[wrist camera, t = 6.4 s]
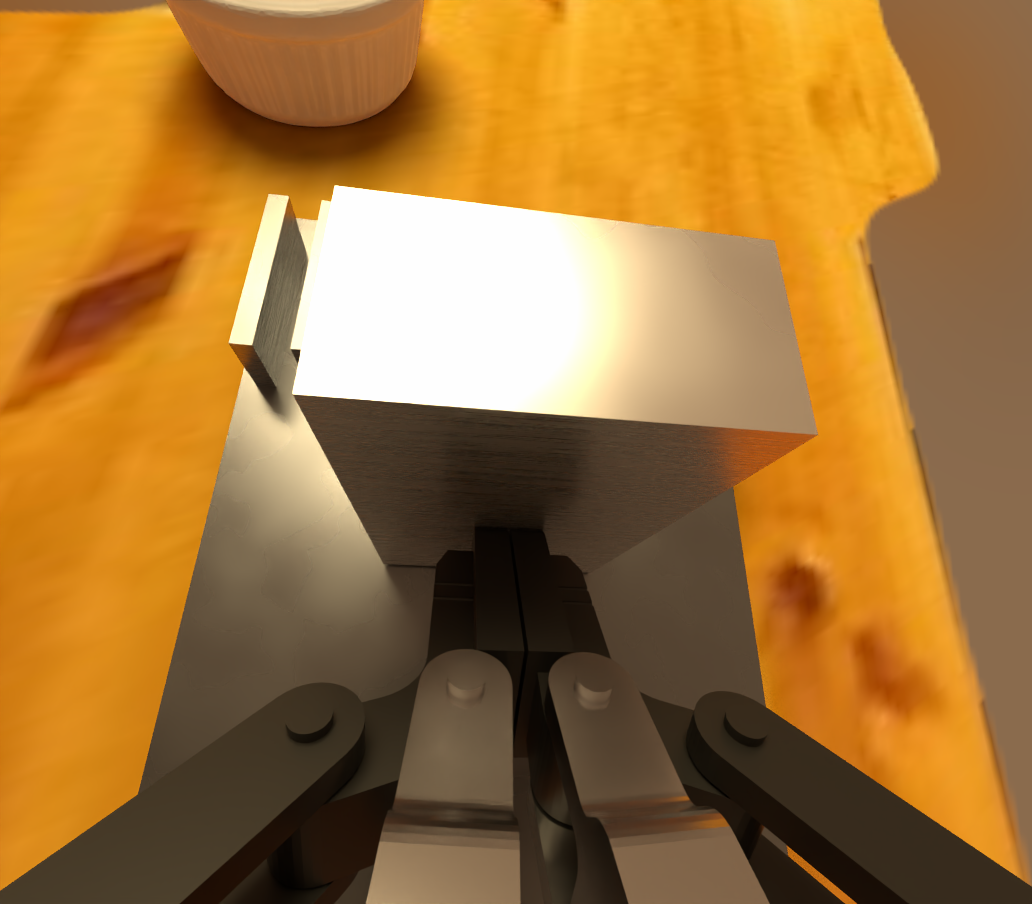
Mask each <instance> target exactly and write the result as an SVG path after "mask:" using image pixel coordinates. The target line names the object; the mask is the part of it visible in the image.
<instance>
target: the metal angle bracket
mask: <svg viewBox="0 0 1032 904" xmlns="http://www.w3.org/2000/svg"><path fill="white" fill-rule="evenodd" d="M293 396H294V398H295V400H296V402H297V404H298V405H299V407H300V409H301V411H302V413H303V415H304V417H305V418H306V420H307V422H308V424H309V426H310V428H311V430H312V432H313V433H314V435H315V437H316V439H317V441H318V443H319V445H320V446H321V448H322V450H323V452H324V454H325V456H326V458H327V460H328V461H329V463H330V465H331V467H332V469H333V471H334V473H335V474H336V476H337V478H338V480H339V482H340V484H341V486H342V488H343V489H344V491H345V493H346V495H347V497H348V499H349V501H350V502H351V504H352V506H353V508H354V510H355V512H356V514H357V516H358V517H359V519H360V521H361V523H362V525H363V527H364V529H365V530H366V532H367V534H368V536H369V538H370V540H371V542H372V544H373V545H374V547H375V549H376V551H377V553H378V555H379V557H380V559H381V560H382V562H383V564H393V565H418V566H436V564H437V563H438V561H439V560H440V559H441V558H442V556H443V555H444V554H445V553H446V552H447V550H460V551H471V549H472V538H473V530H474V528H491V529H508V532H509V531H510V529H512V530H530V531H544V533H545V536H546V540H547V544H548V548H549V552H550V555H565V556H568V557H569V558H570V559H571V560H572V561H573V562H574V563H575V564H576V565H577V566H578V567H579V568H580V569H581V570H582V572H589V573H592V572H593V571H595V570H597V569H598V568H600V567H602V566H603V565H605V564H606V563H608V562H610V561H611V560H613V559H615V558H616V557H618V556H620V555H621V554H623V553H625V552H626V551H628V550H629V549H631V548H633V547H634V546H636V545H638V544H639V543H641V542H643V541H644V540H646V539H648V538H649V537H651V536H652V535H654V534H656V533H657V532H659V531H661V530H662V529H664V528H666V527H667V526H669V525H671V524H672V523H674V522H675V521H677V520H679V519H680V518H682V517H684V516H685V515H687V514H689V513H690V512H692V511H694V510H695V509H697V508H698V507H700V506H702V505H703V504H705V503H707V502H708V501H710V500H712V499H713V498H715V497H717V496H718V495H720V494H722V493H723V492H725V491H726V490H728V489H730V488H731V487H733V486H735V485H736V484H738V483H740V482H741V481H743V480H745V479H746V478H748V477H749V476H751V475H753V474H754V473H756V472H758V471H759V470H761V469H763V468H764V467H766V466H768V465H769V464H771V463H772V462H774V461H776V460H777V459H779V458H781V457H782V456H784V455H786V454H787V453H789V452H791V451H792V450H794V449H795V448H797V447H799V446H800V445H802V444H804V443H805V442H807V441H809V440H810V439H812V438H814V437H815V436H817V435H818V433H817V429H816V424H815V420H814V415H813V411H812V406H811V402H810V397H809V393H808V388H807V384H806V379H805V375H804V370H803V366H802V361H801V357H800V352H799V348H798V344H797V339H796V335H795V330H794V326H793V321H792V317H791V312H790V308H789V303H788V299H787V294H786V290H785V285H784V281H783V276H782V272H781V267H780V263H779V258H778V254H777V250H776V245H775V241H773V240H765V239H757V238H749V237H741V236H733V235H725V234H717V233H709V232H701V231H693V230H685V229H677V228H669V227H661V226H653V225H645V224H637V223H629V222H621V221H613V220H605V219H597V218H589V217H581V216H573V215H565V214H557V213H549V212H541V211H533V210H525V209H517V208H509V207H501V206H493V205H485V204H477V203H469V202H461V201H453V200H445V199H437V198H429V197H421V196H413V195H405V194H397V193H389V192H381V191H373V190H365V189H357V188H349V187H341V186H335V188H334V193H333V198H332V203H331V208H330V212H329V217H328V222H327V227H326V232H325V237H324V242H323V247H322V252H321V256H320V261H319V266H318V271H317V276H316V281H315V286H314V291H313V296H312V301H311V305H310V310H309V315H308V320H307V325H306V330H305V335H304V340H303V345H302V349H301V354H300V359H299V364H298V369H297V374H296V379H295V384H294V389H293Z"/></svg>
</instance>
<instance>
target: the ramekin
mask: <svg viewBox="0 0 1032 904" xmlns="http://www.w3.org/2000/svg"><path fill="white" fill-rule="evenodd" d="M166 2H167V4H168V6H169V8H170V9H171V11H172V13H173V15H174V17H175V19H176V20H177V22H178V24H179V26H180V28H181V29H182V31H183V33H184V35H185V36H186V38H187V40H188V42H189V43H190V45H191V47H192V48H193V50H194V52H195V54H196V55H197V57H198V59H199V60H200V62H201V64H202V65H203V67H204V69H205V70H206V71H207V73H208V74H209V75H210V77H211V78H212V79H213V81H214V82H215V83H216V84H217V85H218V86H219V87H220V88H221V89H222V90H223V91H224V92H225V93H226V94H227V95H229V96H230V97H231V98H233V99H234V100H235V101H236V102H238V103H239V104H241V105H242V106H244V107H245V108H247V109H249V110H250V111H252V112H254V113H256V114H258V115H261V116H263V117H265V118H268V119H271V120H274V121H277V122H281V123H286V124H291V125H299V126H308V127H330V126H340V125H346V124H351V123H355V122H358V121H361V120H364V119H367V118H369V117H371V116H374V115H376V114H377V113H379V112H381V111H382V110H384V109H385V108H387V107H388V106H389V105H390V104H391V103H393V102H394V101H395V100H396V98H397V97H398V96H399V95H400V94H401V92H402V91H403V90H404V89H405V88H406V87H407V85H408V83H409V81H410V80H411V78H412V75H413V71H414V69H415V66H416V60H417V53H418V45H419V37H420V29H421V21H422V13H423V4H424V0H166Z"/></svg>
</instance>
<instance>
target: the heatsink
mask: <svg viewBox="0 0 1032 904" xmlns="http://www.w3.org/2000/svg"><path fill="white" fill-rule="evenodd" d="M331 203H332V201H324V200H322V203H321V207H320V212H319V217H318V221H316V220H308V219H299V218H296V217H295V214H294V211H293V208H292V204H291V201H290V198H289V196H282V195H274V194H269V195H268V199H267V202H266V206H265V210H264V214H263V217H262V221H261V225H260V228H259V232H258V236H257V240H256V243H255V247H254V251H253V255H252V258H251V262H250V266H249V269H248V273H247V277H246V281H245V284H244V288H243V292H242V296H241V299H240V303H239V307H238V310H237V314H236V318H235V322H234V325H233V329H232V333H231V337H230V340H229V344H230V346H231V347H232V349H233V351H234V352H235V354H236V355H237V357H238V358H239V360H240V361H241V363H242V364H243V366H244V371H243V375H242V380H241V384H240V388H239V392H238V396H237V400H236V404H235V408H234V412H233V416H232V420H231V424H230V428H229V432H228V436H227V440H226V444H225V448H224V452H223V456H222V460H221V464H220V468H219V472H218V476H217V480H216V484H215V488H214V492H213V496H212V500H211V504H210V508H209V512H208V516H207V520H206V524H205V528H204V532H203V536H202V540H201V544H200V548H199V552H198V556H197V560H196V564H195V568H194V572H193V576H192V580H191V584H190V588H189V592H188V596H187V600H186V604H185V608H184V612H183V616H182V620H181V624H180V628H179V632H178V636H177V640H176V644H175V648H174V652H173V656H172V660H171V664H170V668H169V672H168V676H167V680H166V684H165V688H164V692H163V696H162V700H161V704H160V708H159V712H158V716H157V720H156V724H155V728H154V732H153V736H152V740H151V744H150V748H149V752H148V756H147V760H146V764H145V768H144V772H143V776H142V780H141V784H140V788H139V792H138V794H140V793H141V792H142V791H144V790H145V789H147V788H148V787H150V786H151V785H152V784H154V783H155V782H157V781H158V780H160V779H161V778H162V777H164V776H165V775H167V774H168V773H170V772H171V771H172V770H174V769H175V768H177V767H178V766H180V765H181V764H182V763H184V762H185V761H187V760H188V759H190V758H191V757H192V756H194V755H195V754H197V753H198V752H200V751H201V750H202V749H204V748H205V747H207V746H208V745H210V744H211V743H212V742H214V741H215V740H217V739H218V738H220V737H221V736H222V735H224V734H225V733H227V732H228V731H230V730H231V729H232V728H234V727H235V726H237V725H238V724H240V723H241V722H242V721H244V720H245V719H247V718H248V717H250V716H251V715H253V714H254V713H255V712H257V711H258V710H260V709H261V708H263V707H264V706H265V705H267V704H268V703H270V702H271V701H273V700H274V699H275V698H277V697H278V696H280V695H282V694H283V693H285V692H287V691H289V690H291V689H293V688H296V687H299V686H302V685H305V684H310V683H320V682H325V683H334V684H338V685H341V686H344V687H346V688H348V689H349V690H351V691H352V692H354V693H355V694H356V695H357V696H358V698H359V699H360V701H361V702H365V701H369V700H373V699H377V698H380V697H384V696H387V695H390V694H393V693H395V692H397V691H399V690H401V689H403V688H405V687H406V686H408V685H409V684H410V683H411V682H413V681H414V680H415V679H416V678H417V677H418V676H419V674H420V673H421V671H422V670H423V668H424V666H425V663H426V660H427V655H428V644H429V634H430V623H431V613H432V603H433V592H434V582H435V572H436V566H418V565H393V564H383V562H382V560H381V559H380V557H379V555H378V553H377V551H376V549H375V547H374V545H373V544H372V542H371V540H370V538H369V536H368V534H367V532H366V530H365V529H364V527H363V525H362V523H361V521H360V519H359V517H358V516H357V514H356V512H355V510H354V508H353V506H352V504H351V502H350V501H349V499H348V497H347V495H346V493H345V491H344V489H343V488H342V486H341V484H340V482H339V480H338V478H337V476H336V474H335V473H334V471H333V469H332V467H331V465H330V463H329V461H328V460H327V458H326V456H325V454H324V452H323V450H322V448H321V446H320V445H319V443H318V441H317V439H316V437H315V435H314V433H313V432H312V430H311V428H310V426H309V424H308V422H307V420H306V418H305V417H304V415H303V413H302V411H301V409H300V407H299V405H298V404H297V402H296V400H295V398H294V396H293V389H294V384H295V379H296V374H297V369H298V364H299V359H300V354H301V349H302V345H303V340H304V335H305V330H306V325H307V320H308V315H309V310H310V305H311V301H312V296H313V291H314V286H315V281H316V276H317V271H318V266H319V261H320V256H321V252H322V247H323V242H324V237H325V232H326V227H327V222H328V217H329V212H330V208H331ZM582 573H583V576H584V579H585V582H586V585H587V591H589V594H590V597H591V600H592V606H594V609H595V612H596V615H597V618H598V621H599V624H600V627H601V630H602V633H603V636H604V639H605V642H606V645H607V648H608V651H609V654H610V657H611V660H613V661H615V662H616V663H618V664H619V665H621V666H622V667H623V668H624V669H625V670H626V671H627V672H628V673H629V674H630V675H631V677H632V678H633V680H634V682H635V683H636V686H637V688H638V690H639V691H640V692H642V693H644V694H646V695H648V696H650V697H652V698H655V699H658V700H661V701H664V702H668V703H671V704H675V705H678V706H681V707H685V708H688V709H692V710H694V709H695V706H696V704H697V702H698V700H699V699H700V698H701V697H702V696H704V695H705V694H708V693H710V692H715V691H728V692H734V693H738V694H741V695H744V696H747V697H749V698H751V699H753V700H755V701H757V702H758V703H760V704H762V705H763V706H765V707H766V705H765V698H764V692H763V685H762V678H761V671H760V665H759V658H758V651H757V645H756V638H755V631H754V625H753V618H752V611H751V604H750V598H749V591H748V584H747V578H746V571H745V564H744V558H743V551H742V544H741V537H740V531H739V524H738V517H737V511H736V504H735V497H734V490H733V487H731V488H730V489H728V490H726V491H725V492H723V493H722V494H720V495H718V496H717V497H715V498H713V499H712V500H710V501H708V502H707V503H705V504H703V505H702V506H700V507H698V508H697V509H695V510H694V511H692V512H690V513H689V514H687V515H685V516H684V517H682V518H680V519H679V520H677V521H675V522H674V523H672V524H671V525H669V526H667V527H666V528H664V529H662V530H661V531H659V532H657V533H656V534H654V535H652V536H651V537H649V538H648V539H646V540H644V541H643V542H641V543H639V544H638V545H636V546H634V547H633V548H631V549H629V550H628V551H626V552H625V553H623V554H621V555H620V556H618V557H616V558H615V559H613V560H611V561H610V562H608V563H606V564H605V565H603V566H602V567H600V568H598V569H597V570H595V571H593V572H592V573H589V572H582ZM529 782H530V770H529V761H528V758H513V814H514V817H516V818H517V820H518V826H519V842H520V904H544V902H543V896H542V890H541V884H540V879H539V873H538V867H537V862H536V856H535V850H534V845H533V839H532V833H531V827H530V822H529V816H528V810H527V793H528V788H529ZM762 835H763V836H765V837H766V838H767V839H768V840H769V841H771V842H772V843H773V844H774V845H775V846H777V847H778V848H779V849H780V850H781V851H783V852H784V853H785V854H786V855H787V856H788V852H787V846H786V844H785V843H784V842H782V841H781V840H780V839H779V838H778V837H776V836H775V835H774V834H773V833H772V832H770V831H769V830H768V829H767V828H765V827H764V829H763V831H762ZM373 869H374V865H372V866H370V867H367V868H365V869H362V870H360V871H359V872H358V874H357V875H356V877H355V879H354V880H353V882H352V883H351V884H350V886H349V887H348V888H347V890H346V891H345V892H344V893H343V894H342V895H341V897H340V898H339V899H338V900H337V901H336V902H335V903H334V904H366V901H367V897H368V892H369V887H370V883H371V878H372V874H373Z"/></svg>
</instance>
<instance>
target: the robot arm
mask: <svg viewBox="0 0 1032 904" xmlns="http://www.w3.org/2000/svg"><path fill="white" fill-rule="evenodd" d="M513 758H528V761H529V770H530V782H529V788H528V793H527V810H528V816H529V822H530V827H531V833H532V839H533V845H534V850H535V856H536V862H537V867H538V873H539V879H540V884H541V890H542V896H543V902H544V904H845V903H843V902H842V901H841V900H840V899H838V898H837V897H836V896H835V895H834V894H833V893H831V892H830V891H829V890H828V889H827V888H825V887H824V886H823V885H822V884H821V883H819V882H818V881H817V880H816V879H815V878H813V877H812V876H811V875H810V874H809V873H808V872H806V871H805V870H804V869H803V868H802V867H800V866H799V865H798V864H797V863H796V862H794V861H793V860H792V859H791V858H790V857H788V856H787V855H786V854H785V853H784V852H783V851H781V850H780V849H779V848H778V847H777V846H775V845H774V844H773V843H772V842H771V841H769V840H768V839H767V838H766V837H765V836H763V835H762V831H763V829H764V827H765V828H767V829H768V830H769V831H770V832H772V833H773V834H774V835H775V836H776V837H778V838H779V839H780V840H781V841H782V842H784V843H785V844H786V845H787V846H788V847H790V848H791V849H792V850H793V851H794V852H796V853H797V854H798V855H799V856H801V857H802V858H803V859H804V860H805V861H807V862H808V863H809V864H810V865H811V866H813V867H814V868H815V869H816V870H817V871H819V872H820V873H821V874H822V875H824V876H825V877H826V878H827V879H828V880H830V881H831V882H832V883H833V884H834V885H836V886H837V887H838V888H839V889H840V890H842V891H843V892H844V893H845V894H846V895H848V896H849V897H850V898H851V899H853V900H854V901H855V902H856V903H857V904H1032V887H1031V886H1030V885H1028V884H1027V883H1025V882H1024V881H1023V880H1021V879H1020V878H1018V877H1017V876H1015V875H1014V874H1012V873H1011V872H1009V871H1008V870H1006V869H1005V868H1003V867H1002V866H1000V865H999V864H997V863H996V862H994V861H993V860H991V859H990V858H988V857H987V856H986V855H984V854H983V853H981V852H980V851H978V850H977V849H975V848H974V847H972V846H971V845H969V844H968V843H966V842H965V841H963V840H962V839H960V838H959V837H957V836H956V835H954V834H953V833H951V832H950V831H949V830H947V829H946V828H944V827H943V826H941V825H940V824H938V823H937V822H935V821H934V820H932V819H931V818H929V817H928V816H926V815H925V814H923V813H922V812H920V811H919V810H917V809H916V808H914V807H913V806H911V805H910V804H909V803H907V802H906V801H904V800H903V799H901V798H900V797H898V796H897V795H895V794H894V793H892V792H891V791H889V790H888V789H886V788H885V787H883V786H882V785H880V784H879V783H877V782H876V781H874V780H873V779H872V778H870V777H869V776H867V775H866V774H864V773H863V772H861V771H860V770H858V769H857V768H855V767H854V766H852V765H851V764H849V763H848V762H846V761H845V760H843V759H842V758H840V757H839V756H837V755H836V754H834V753H833V752H832V751H830V750H829V749H827V748H826V747H824V746H823V745H821V744H820V743H818V742H817V741H815V740H814V739H812V738H811V737H809V736H808V735H806V734H805V733H803V732H802V731H800V730H799V729H797V728H796V727H795V726H793V725H792V724H790V723H789V722H787V721H786V720H784V719H783V718H781V717H780V716H778V715H777V714H775V713H774V712H772V711H771V710H769V709H768V708H766V707H765V706H763V705H762V704H760V703H758V702H757V701H755V700H753V699H751V698H749V697H747V696H744V695H741V694H738V693H734V692H728V691H715V692H710V693H708V694H705V695H704V696H702V697H701V698H700V699H699V700H698V702H697V704H696V706H695V709H694V710H692V709H688V708H685V707H681V706H678V705H675V704H671V703H668V702H664V701H661V700H658V699H655V698H652V697H650V696H648V695H646V694H644V693H642V692H640V691H639V690H638V688H637V686H636V683H635V682H634V680H633V678H632V677H631V675H630V674H629V673H628V672H627V671H626V670H625V669H624V668H623V667H622V666H621V665H619V664H618V663H616V662H615V661H613V660H611V657H610V654H609V651H608V648H607V645H606V642H605V639H604V636H603V633H602V630H601V627H600V624H599V621H598V618H597V615H596V612H595V609H594V606H592V600H591V597H590V594H589V591H587V585H586V582H585V579H584V576H583V573H582V570H581V569H580V568H579V567H578V566H577V565H576V564H575V563H574V562H573V561H572V560H571V559H570V558H569V557H568V556H565V555H550V552H549V548H548V544H547V540H546V536H545V533H544V531H530V530H512V529H510V531H509V532H508V529H491V528H474V530H473V538H472V549H471V551H460V550H447V552H446V553H445V554H444V555H443V556H442V558H441V559H440V560H439V561H438V563H437V564H436V572H435V582H434V592H433V603H432V613H431V623H430V634H429V644H428V655H427V660H426V663H425V666H424V668H423V670H422V671H421V673H420V674H419V676H418V677H417V678H416V679H415V680H414V681H413V682H411V683H410V684H409V685H408V686H406V687H405V688H403V689H401V690H399V691H397V692H395V693H393V694H390V695H387V696H384V697H380V698H377V699H373V700H369V701H365V702H361V701H360V699H359V698H358V696H357V695H356V694H355V693H354V692H352V691H351V690H349V689H348V688H346V687H344V686H341V685H338V684H334V683H325V682H320V683H310V684H305V685H302V686H299V687H296V688H293V689H291V690H289V691H287V692H285V693H283V694H282V695H280V696H278V697H277V698H275V699H274V700H273V701H271V702H270V703H268V704H267V705H265V706H264V707H263V708H261V709H260V710H258V711H257V712H255V713H254V714H253V715H251V716H250V717H248V718H247V719H245V720H244V721H242V722H241V723H240V724H238V725H237V726H235V727H234V728H232V729H231V730H230V731H228V732H227V733H225V734H224V735H222V736H221V737H220V738H218V739H217V740H215V741H214V742H212V743H211V744H210V745H208V746H207V747H205V748H204V749H202V750H201V751H200V752H198V753H197V754H195V755H194V756H192V757H191V758H190V759H188V760H187V761H185V762H184V763H182V764H181V765H180V766H178V767H177V768H175V769H174V770H172V771H171V772H170V773H168V774H167V775H165V776H164V777H162V778H161V779H160V780H158V781H157V782H155V783H154V784H152V785H151V786H150V787H148V788H147V789H145V790H144V791H142V792H141V793H140V794H138V795H137V796H135V797H134V798H132V799H131V800H130V801H128V802H127V803H125V804H124V805H122V806H121V807H120V808H118V809H117V810H115V811H114V812H112V813H111V814H110V815H108V816H107V817H105V818H104V819H102V820H101V821H100V822H98V823H97V824H95V825H94V826H92V827H91V828H90V829H88V830H87V831H85V832H84V833H82V834H81V835H80V836H78V837H77V838H75V839H74V840H72V841H71V842H70V843H68V844H67V845H65V846H64V847H62V848H61V849H60V850H58V851H57V852H55V853H54V854H52V855H51V856H49V857H48V858H47V859H45V860H44V861H42V862H41V863H39V864H38V865H37V866H35V867H34V868H32V869H31V870H29V871H28V872H27V873H25V874H24V875H22V876H21V877H19V878H18V879H17V880H15V881H14V882H12V883H11V884H9V885H8V886H7V887H5V888H4V889H2V890H1V891H0V904H334V903H335V902H336V901H337V900H338V899H339V898H340V897H341V895H342V894H343V893H344V892H345V891H346V890H347V888H348V887H349V886H350V884H351V883H352V882H353V880H354V879H355V877H356V875H357V874H358V872H359V871H360V870H362V869H365V868H367V867H370V866H372V865H374V869H373V874H372V878H371V883H370V887H369V892H368V897H367V901H366V904H520V842H519V826H518V820H517V818H516V817H514V814H513Z"/></svg>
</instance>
